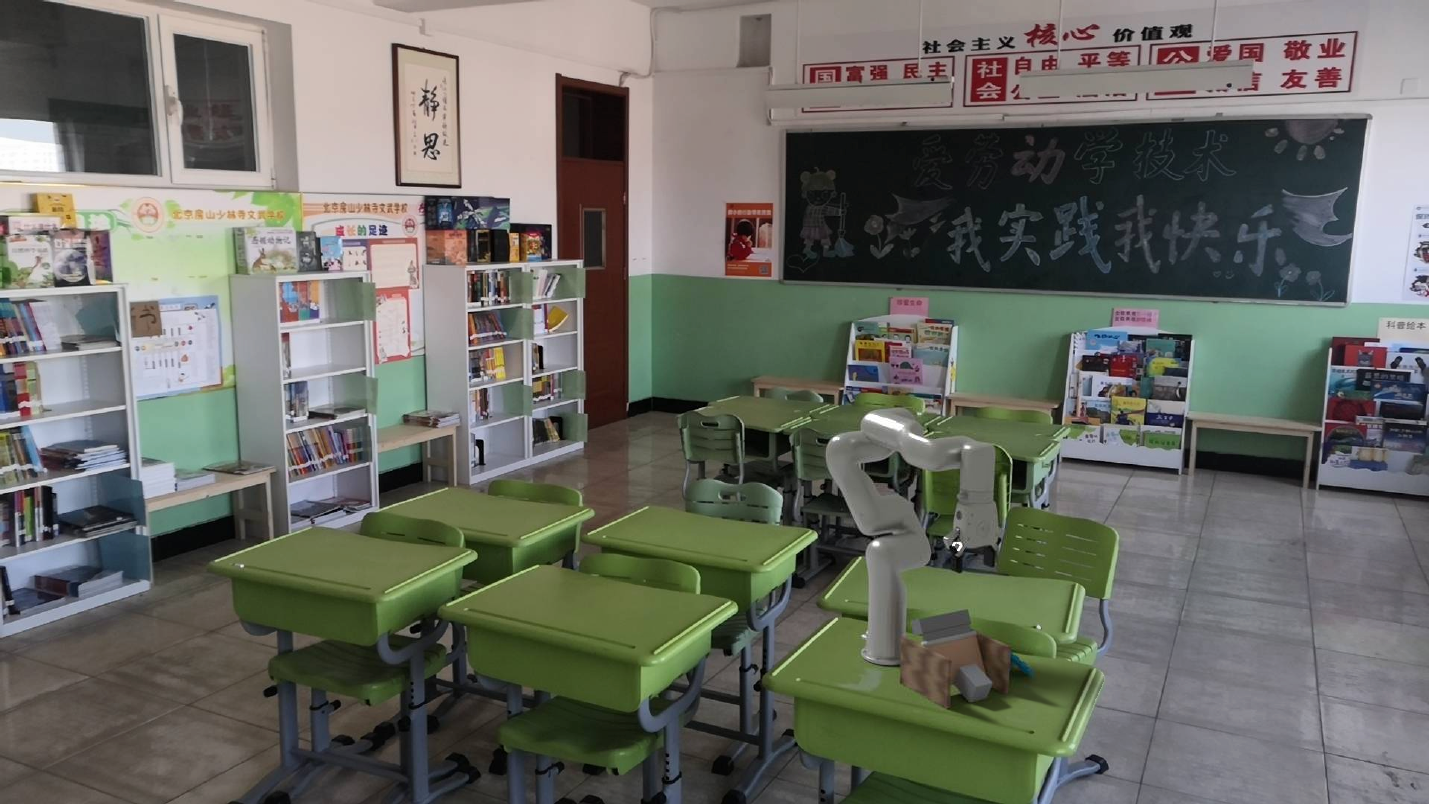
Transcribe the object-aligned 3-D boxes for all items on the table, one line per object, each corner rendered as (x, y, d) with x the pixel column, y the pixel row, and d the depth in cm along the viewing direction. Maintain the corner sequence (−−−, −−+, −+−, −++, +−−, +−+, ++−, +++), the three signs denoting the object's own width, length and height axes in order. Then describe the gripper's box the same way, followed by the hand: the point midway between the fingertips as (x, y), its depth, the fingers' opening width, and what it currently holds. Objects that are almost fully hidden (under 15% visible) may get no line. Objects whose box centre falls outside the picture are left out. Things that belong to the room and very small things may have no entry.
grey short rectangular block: (958, 667, 245) (976, 687, 240) (975, 663, 247) (992, 682, 242) (952, 683, 247) (969, 703, 242) (968, 679, 250) (986, 698, 245)
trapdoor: (908, 621, 251) (918, 619, 248) (960, 610, 259) (970, 608, 256) (925, 690, 247) (935, 689, 244) (977, 677, 255) (987, 676, 252)
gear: (1041, 675, 254) (1013, 648, 253) (1025, 694, 254) (997, 666, 252) (1020, 664, 265) (993, 638, 264) (1004, 682, 264) (977, 655, 263)
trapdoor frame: (899, 683, 254) (901, 637, 252) (960, 668, 262) (961, 624, 261) (946, 709, 239) (948, 660, 237) (1008, 693, 248) (1010, 646, 246)
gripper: (957, 504, 233) (954, 578, 235) (1016, 495, 241) (1012, 568, 243) (935, 496, 239) (932, 569, 242) (993, 489, 247) (990, 559, 250)
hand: (972, 568), depth 243 cm, fingers open, 9 cm apart
